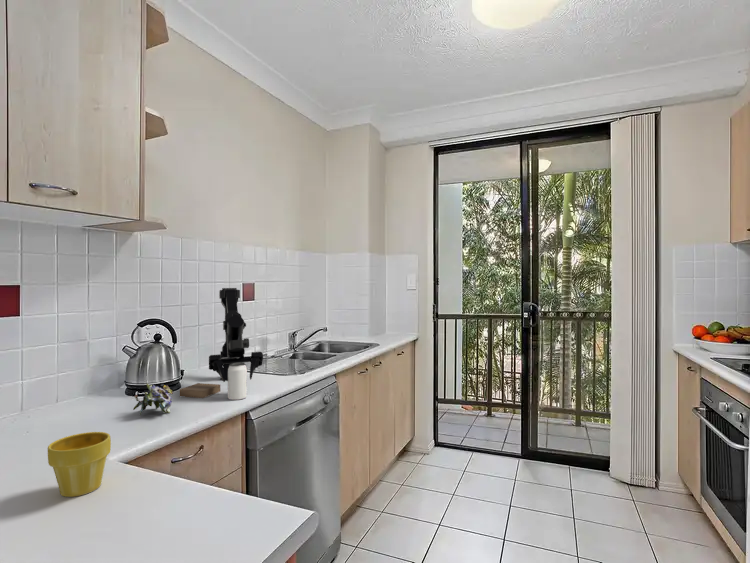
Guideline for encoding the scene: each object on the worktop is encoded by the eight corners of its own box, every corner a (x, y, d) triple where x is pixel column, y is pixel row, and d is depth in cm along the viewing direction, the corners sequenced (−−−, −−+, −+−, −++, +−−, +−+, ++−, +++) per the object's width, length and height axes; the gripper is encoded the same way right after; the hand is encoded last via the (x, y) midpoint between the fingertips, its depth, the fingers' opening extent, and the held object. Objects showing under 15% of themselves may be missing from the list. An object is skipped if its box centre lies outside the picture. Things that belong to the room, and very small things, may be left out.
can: (243, 400, 150) (243, 366, 150) (225, 400, 150) (224, 366, 150) (249, 395, 157) (249, 362, 157) (231, 395, 157) (231, 362, 157)
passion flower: (167, 430, 136) (174, 404, 131) (128, 429, 131) (134, 402, 126) (169, 402, 145) (176, 377, 140) (133, 400, 140) (139, 374, 135)
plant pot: (40, 507, 79) (40, 454, 79) (56, 483, 88) (55, 435, 88) (106, 495, 83) (106, 445, 83) (114, 474, 92) (114, 428, 93)
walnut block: (197, 390, 166) (197, 383, 166) (220, 392, 164) (220, 384, 164) (179, 397, 157) (179, 389, 157) (203, 399, 154) (203, 390, 154)
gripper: (208, 332, 154) (209, 369, 144) (262, 329, 161) (266, 364, 151) (208, 351, 161) (209, 387, 151) (259, 348, 168) (263, 382, 158)
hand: (237, 380), depth 152 cm, fingers open, 9 cm apart
